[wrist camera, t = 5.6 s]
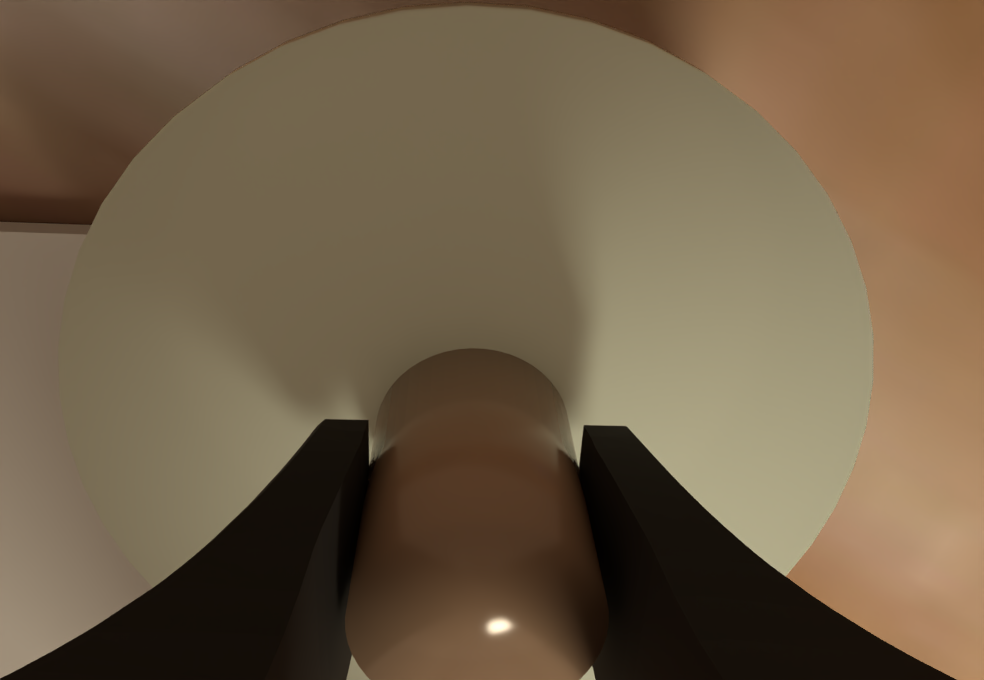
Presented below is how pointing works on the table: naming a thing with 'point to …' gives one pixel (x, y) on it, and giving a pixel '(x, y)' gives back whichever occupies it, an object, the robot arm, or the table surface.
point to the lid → (466, 320)
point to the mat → (45, 465)
